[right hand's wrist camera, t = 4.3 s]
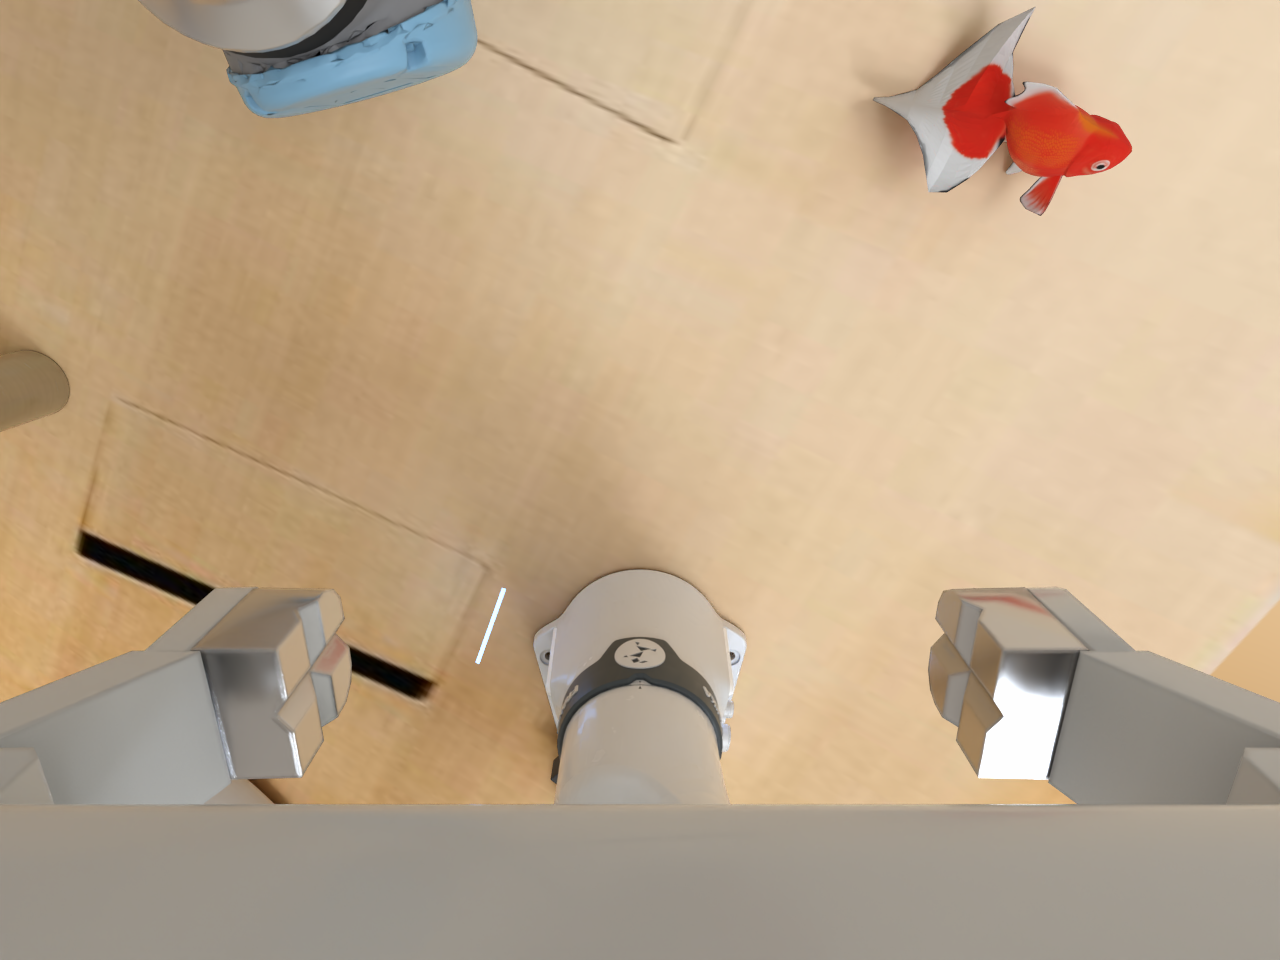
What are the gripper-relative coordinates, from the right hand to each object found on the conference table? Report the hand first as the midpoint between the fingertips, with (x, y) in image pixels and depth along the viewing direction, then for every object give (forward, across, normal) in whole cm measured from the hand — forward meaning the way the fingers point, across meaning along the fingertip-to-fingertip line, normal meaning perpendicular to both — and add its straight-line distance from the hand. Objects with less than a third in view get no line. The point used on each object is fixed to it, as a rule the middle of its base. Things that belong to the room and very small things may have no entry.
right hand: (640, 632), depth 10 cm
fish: (+48, +23, +10) cm, 54 cm away
